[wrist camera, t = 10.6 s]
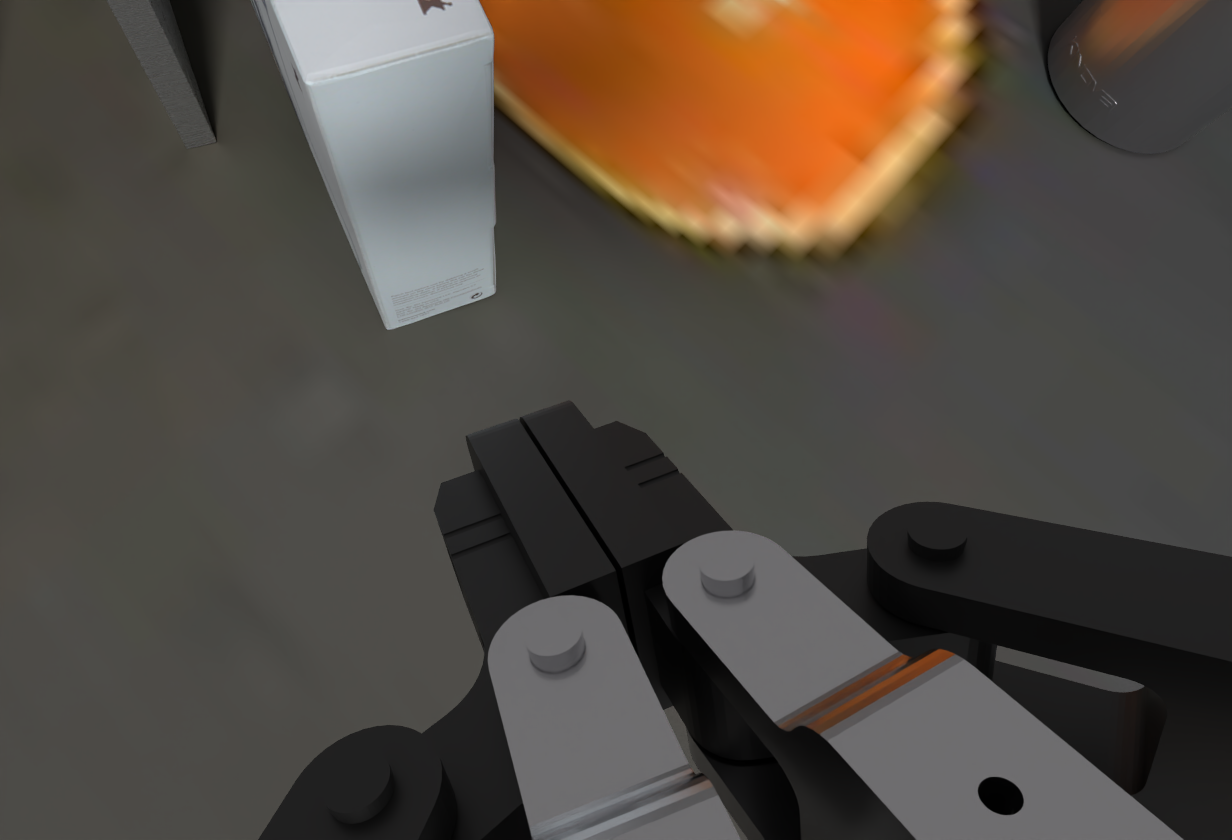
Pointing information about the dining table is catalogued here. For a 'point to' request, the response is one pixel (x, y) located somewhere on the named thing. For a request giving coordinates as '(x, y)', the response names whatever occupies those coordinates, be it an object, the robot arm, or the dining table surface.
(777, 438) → the dining table surface
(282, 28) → the skincare box
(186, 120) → the rack bay
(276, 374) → the dining table surface
